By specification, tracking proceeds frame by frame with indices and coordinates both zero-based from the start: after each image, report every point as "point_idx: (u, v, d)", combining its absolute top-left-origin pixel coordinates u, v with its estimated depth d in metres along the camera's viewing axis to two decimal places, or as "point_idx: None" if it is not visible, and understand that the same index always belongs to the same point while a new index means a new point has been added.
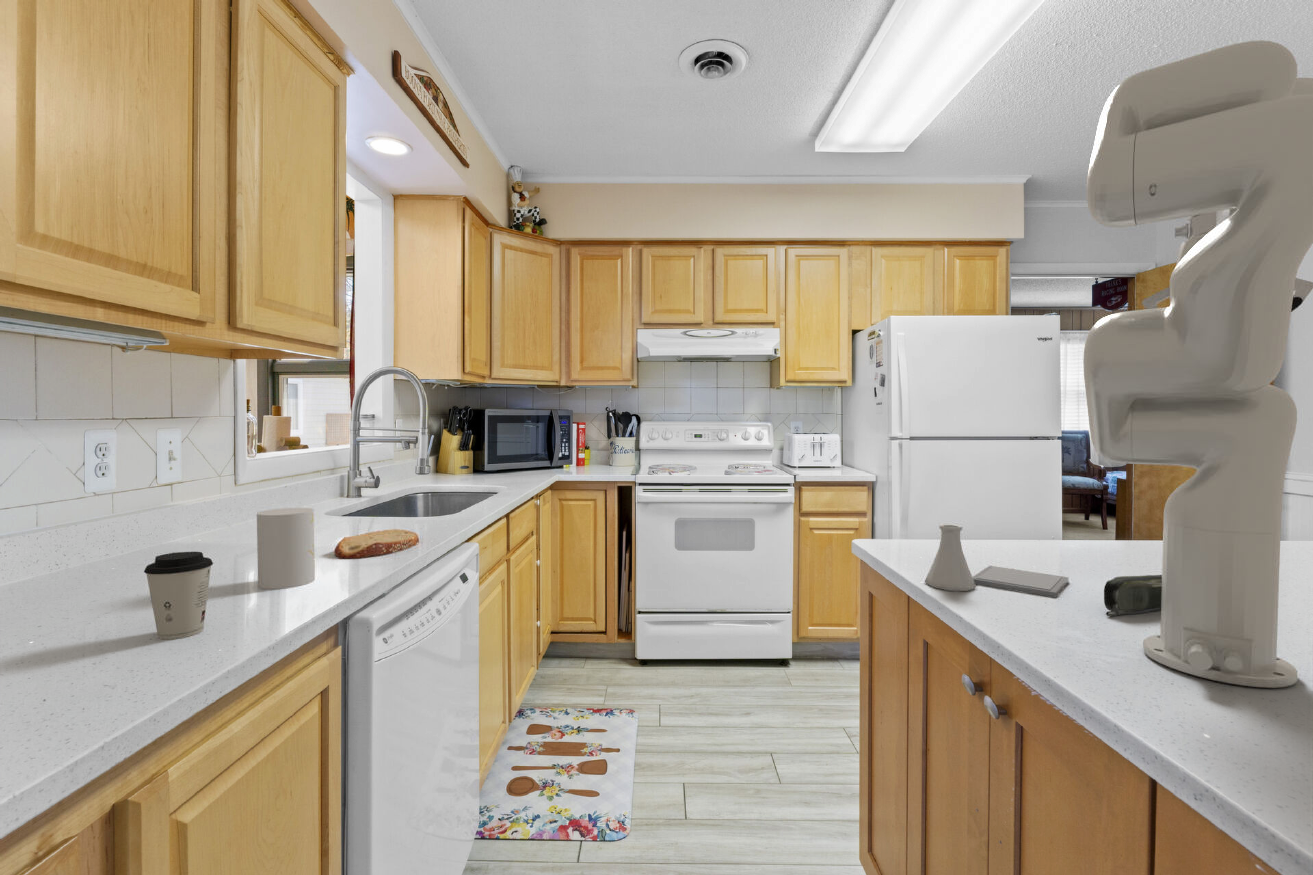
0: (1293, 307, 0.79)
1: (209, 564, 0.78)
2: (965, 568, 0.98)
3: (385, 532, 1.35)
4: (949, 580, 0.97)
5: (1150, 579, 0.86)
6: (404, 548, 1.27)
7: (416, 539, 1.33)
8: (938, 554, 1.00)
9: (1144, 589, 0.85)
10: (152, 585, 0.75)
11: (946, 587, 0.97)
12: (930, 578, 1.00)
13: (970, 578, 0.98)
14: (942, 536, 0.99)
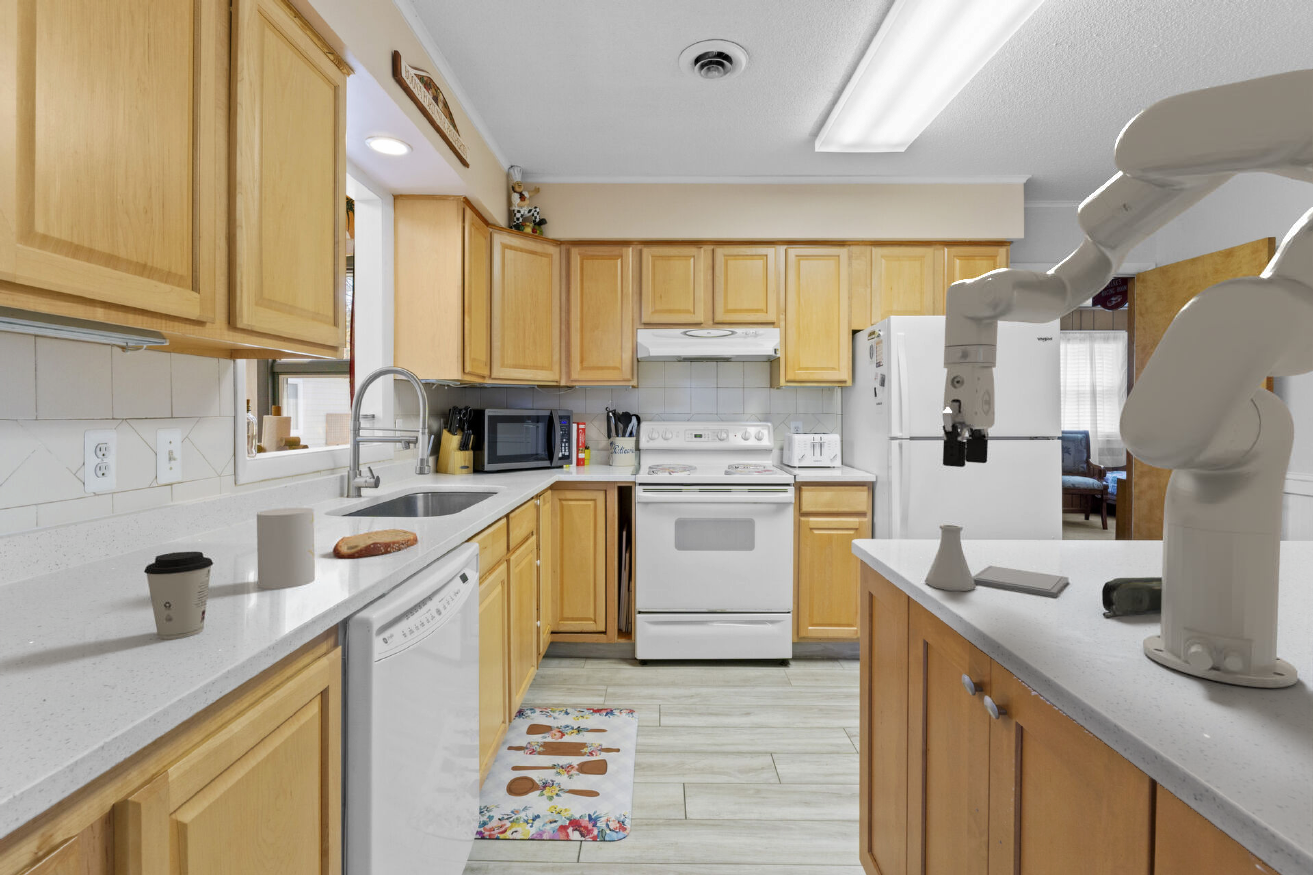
0: None
1: (209, 564, 0.78)
2: (965, 568, 0.98)
3: (384, 532, 1.35)
4: (949, 580, 0.97)
5: (1151, 581, 0.86)
6: (402, 548, 1.27)
7: (415, 539, 1.33)
8: (938, 554, 1.00)
9: (1144, 590, 0.84)
10: (152, 585, 0.75)
11: (946, 587, 0.97)
12: (930, 578, 1.00)
13: (970, 578, 0.98)
14: (942, 536, 0.99)
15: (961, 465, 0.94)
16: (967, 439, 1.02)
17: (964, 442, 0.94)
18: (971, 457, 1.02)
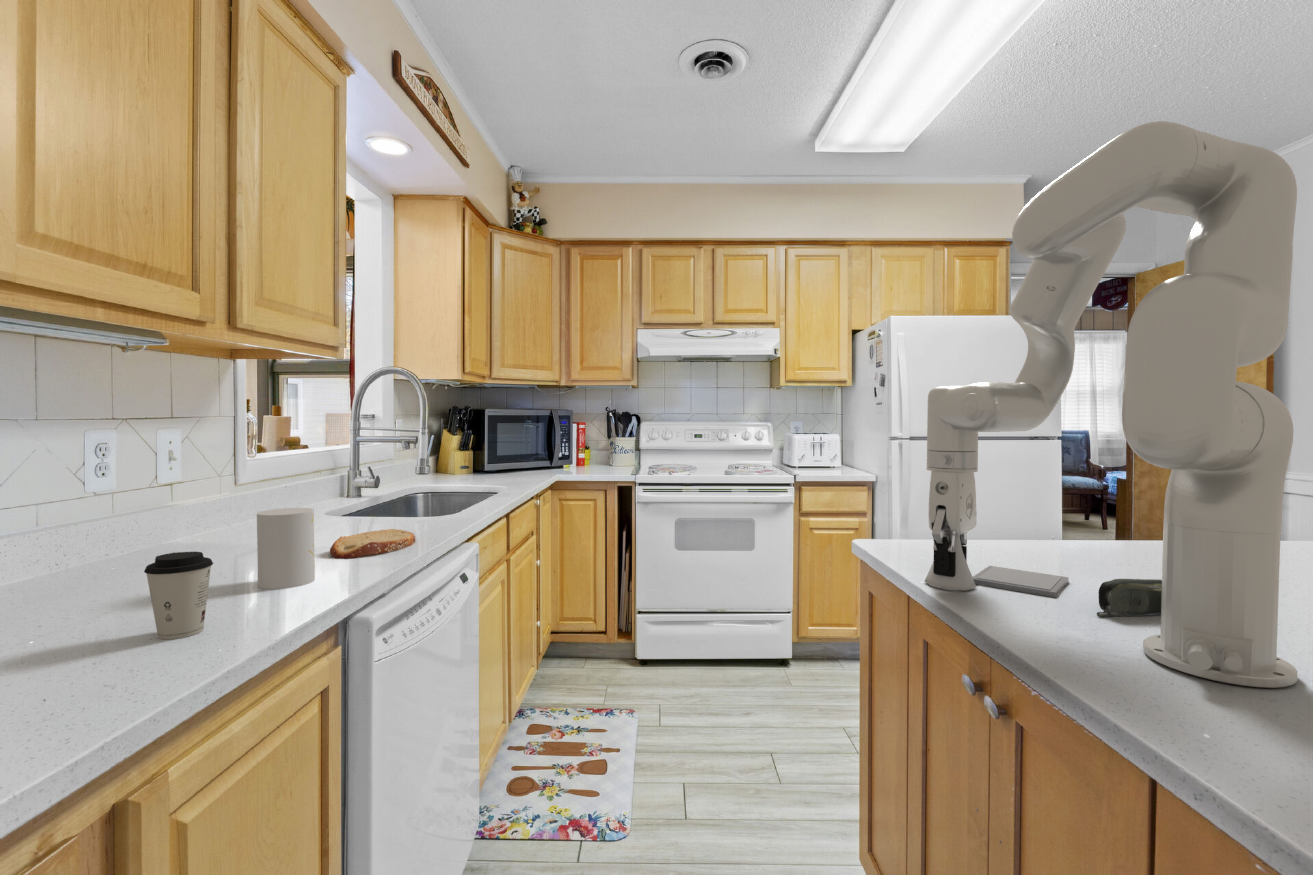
0: None
1: (209, 564, 0.78)
2: (965, 568, 0.98)
3: (382, 532, 1.35)
4: (949, 579, 0.97)
5: (1153, 583, 0.85)
6: (400, 548, 1.27)
7: (412, 539, 1.33)
8: None
9: (1143, 592, 0.84)
10: (152, 585, 0.75)
11: (946, 587, 0.97)
12: (930, 577, 1.00)
13: (970, 578, 0.98)
14: None
15: (951, 575, 0.96)
16: None
17: (954, 553, 0.96)
18: None
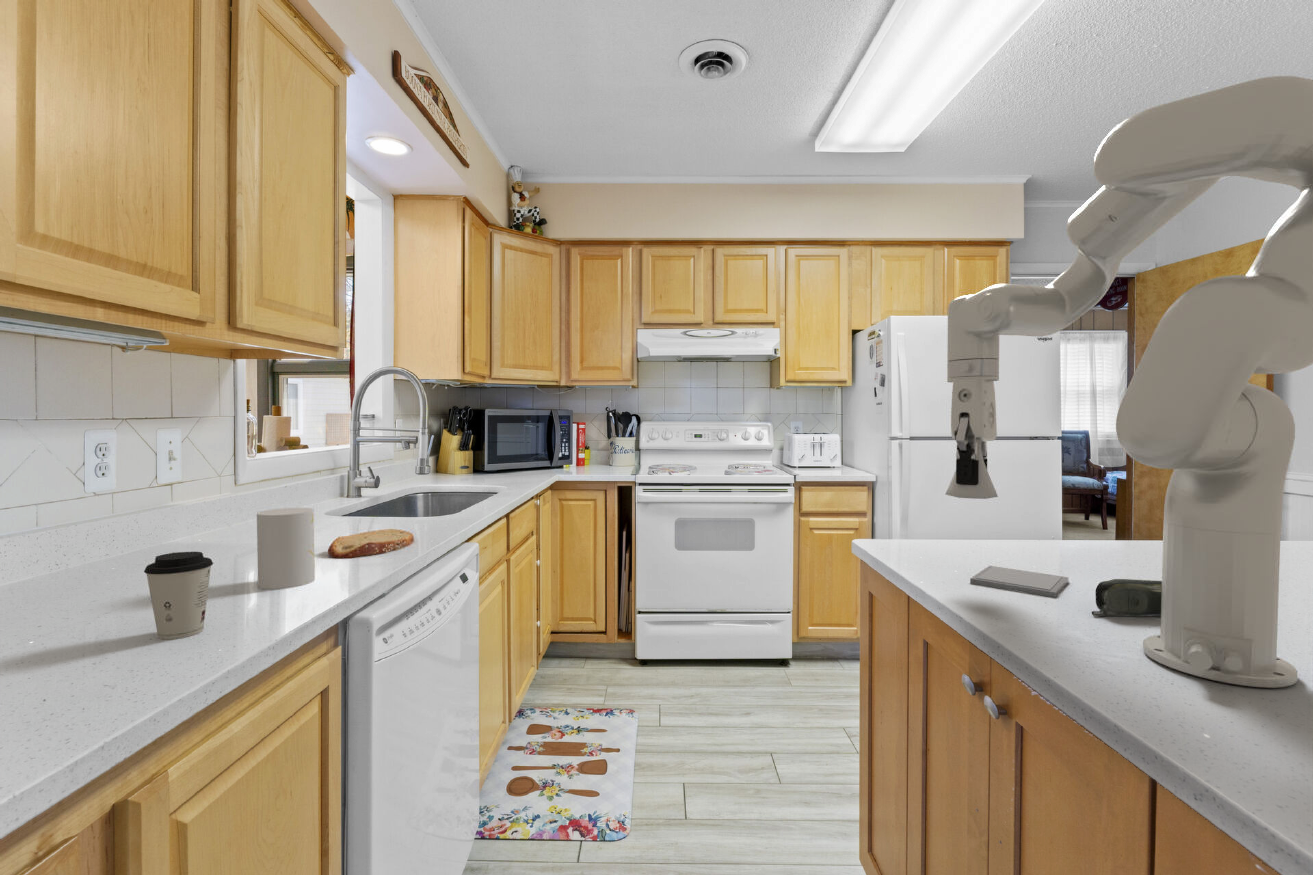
0: None
1: (209, 564, 0.78)
2: (987, 477, 0.98)
3: (380, 532, 1.35)
4: (971, 488, 0.96)
5: (1153, 584, 0.84)
6: (398, 548, 1.27)
7: (411, 539, 1.33)
8: None
9: (1141, 592, 0.83)
10: (152, 585, 0.75)
11: (969, 495, 0.96)
12: (952, 489, 0.99)
13: (992, 487, 0.97)
14: None
15: (975, 483, 0.96)
16: None
17: (977, 461, 0.96)
18: None
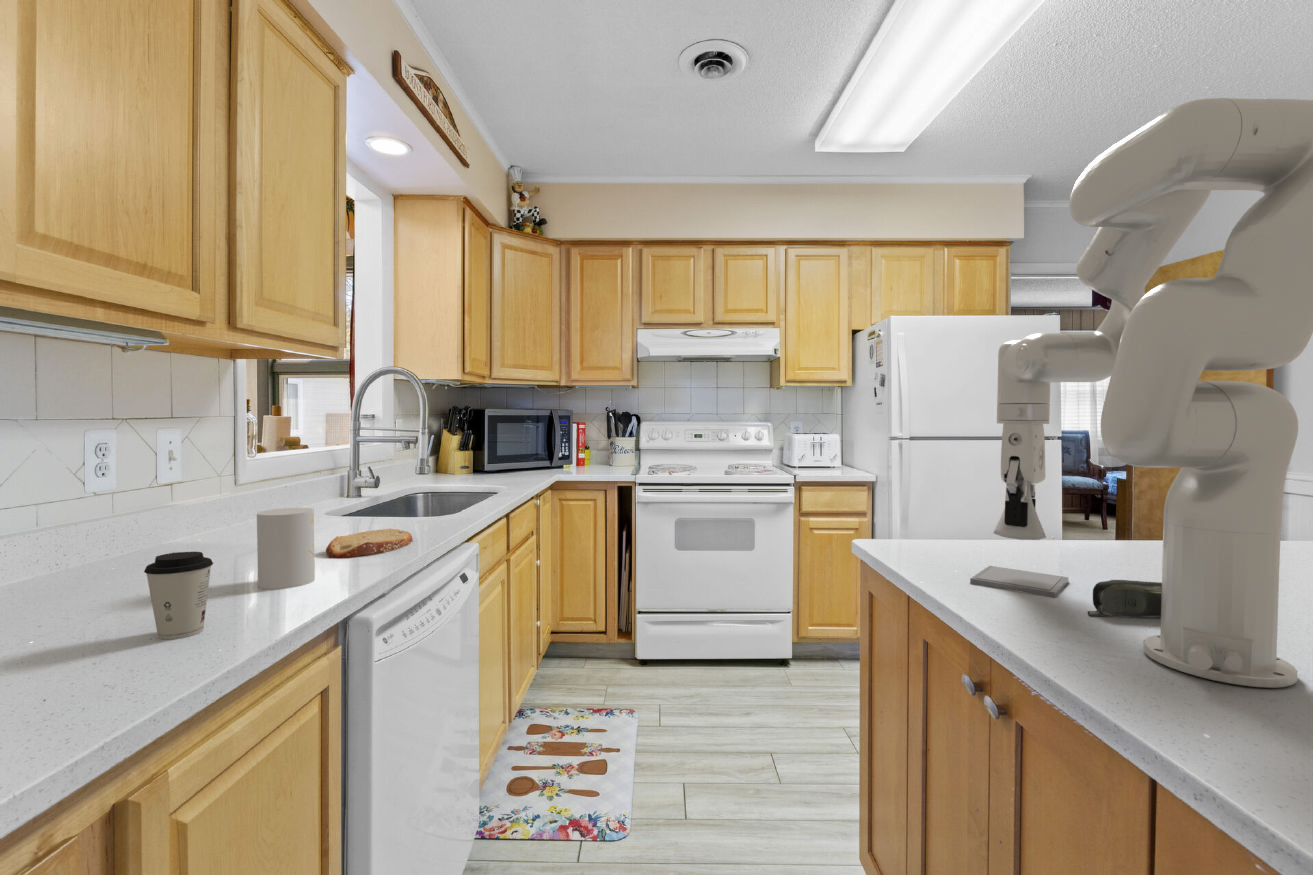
0: None
1: (209, 564, 0.78)
2: (1036, 518, 1.00)
3: (379, 532, 1.35)
4: (1020, 529, 0.98)
5: (1153, 585, 0.83)
6: (396, 548, 1.27)
7: (409, 539, 1.33)
8: None
9: (1139, 593, 0.83)
10: (152, 585, 0.75)
11: (1017, 536, 0.99)
12: (1000, 529, 1.02)
13: (1040, 528, 0.99)
14: None
15: (1024, 525, 0.98)
16: None
17: (1026, 503, 0.98)
18: None
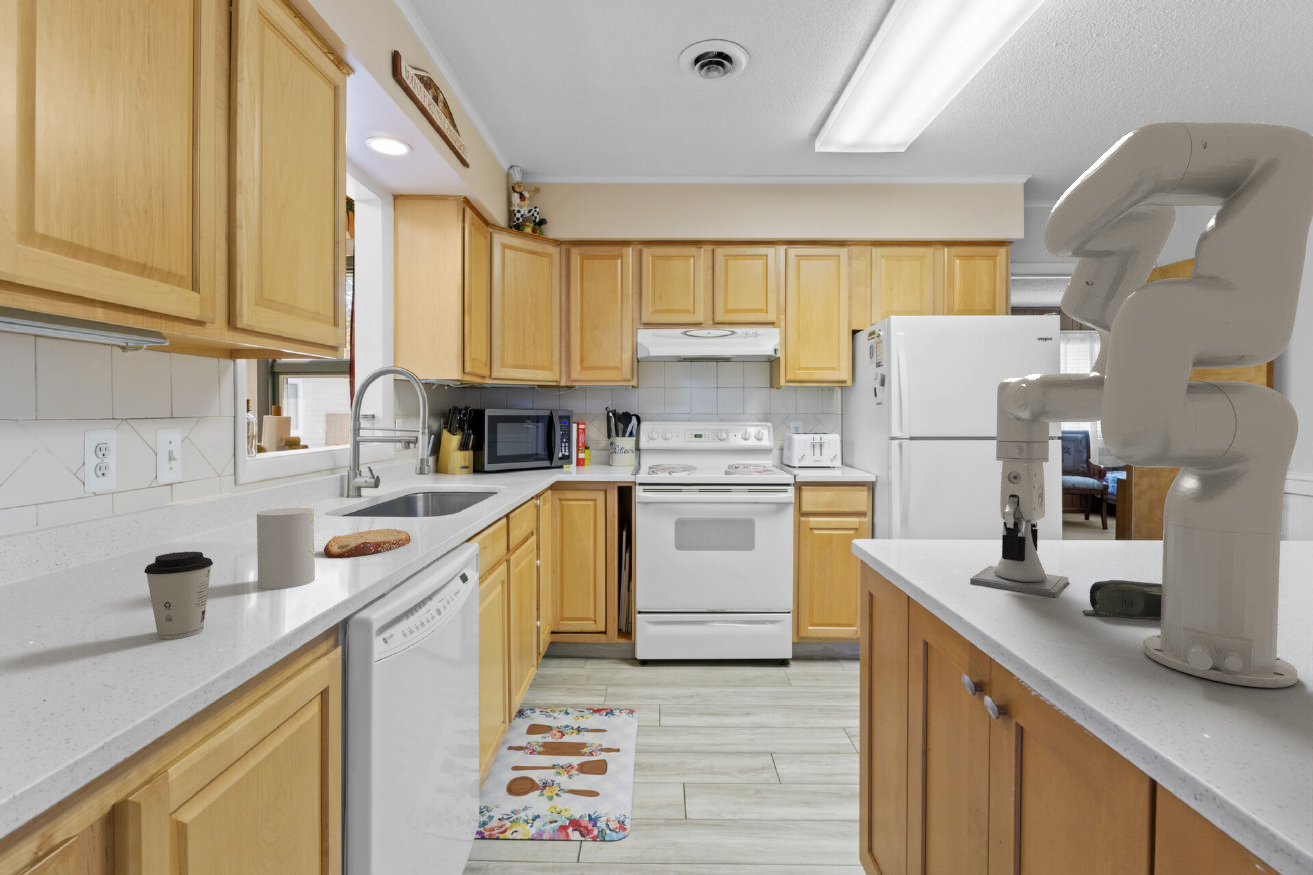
0: None
1: (209, 564, 0.78)
2: (1036, 559, 1.00)
3: (377, 531, 1.35)
4: (1021, 571, 0.98)
5: (1151, 586, 0.83)
6: (393, 547, 1.27)
7: (407, 539, 1.34)
8: None
9: (1136, 594, 0.83)
10: (152, 585, 0.75)
11: (1018, 578, 0.98)
12: (1001, 569, 1.01)
13: (1041, 569, 0.99)
14: None
15: (1021, 560, 0.97)
16: None
17: (1024, 538, 0.97)
18: None
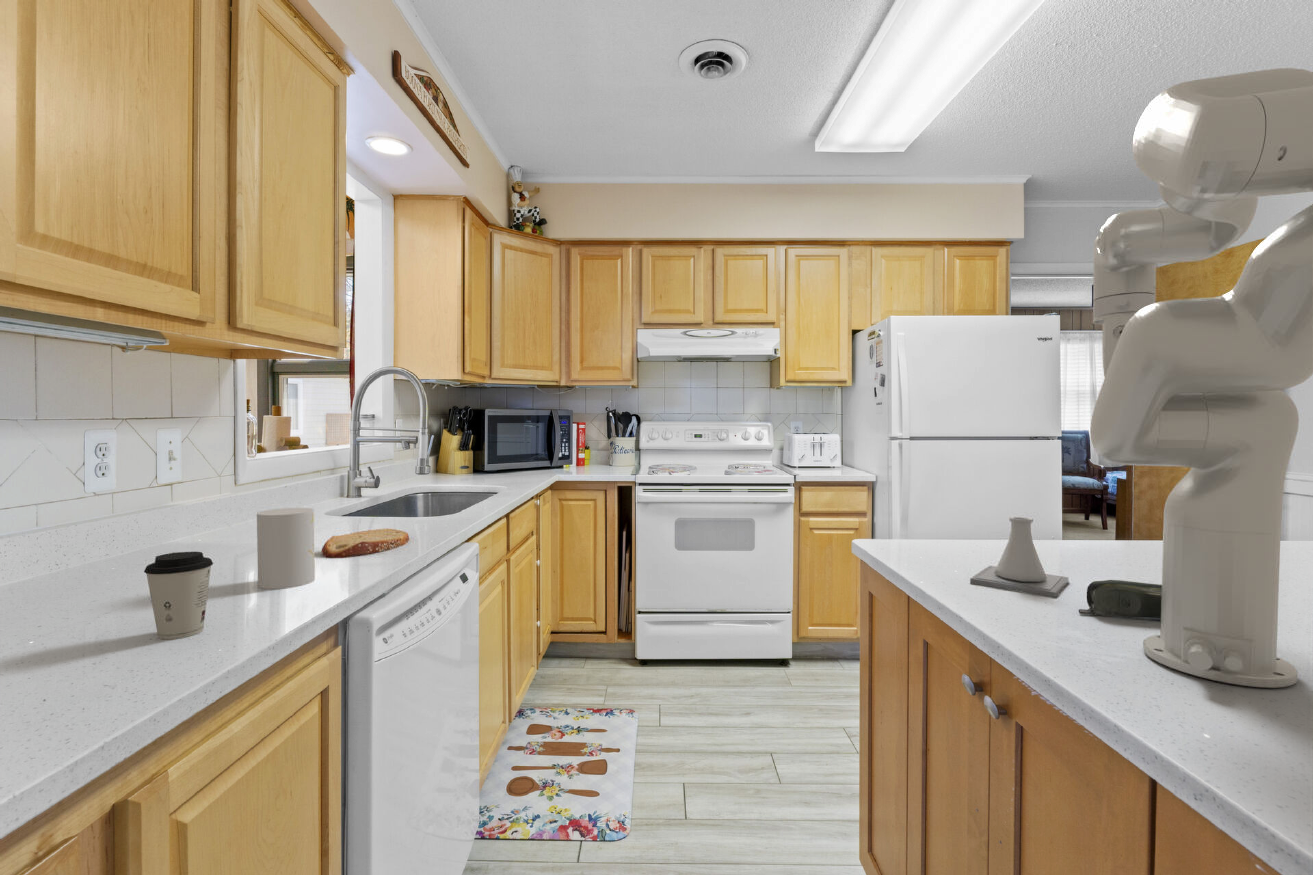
0: None
1: (209, 564, 0.78)
2: (1036, 559, 1.00)
3: (376, 531, 1.36)
4: (1021, 571, 0.98)
5: (1150, 587, 0.83)
6: (391, 547, 1.27)
7: (405, 538, 1.34)
8: (1008, 546, 1.01)
9: (1133, 594, 0.83)
10: (152, 585, 0.75)
11: (1018, 578, 0.98)
12: (1001, 569, 1.01)
13: (1041, 569, 0.99)
14: (1012, 528, 1.01)
15: None
16: None
17: None
18: None
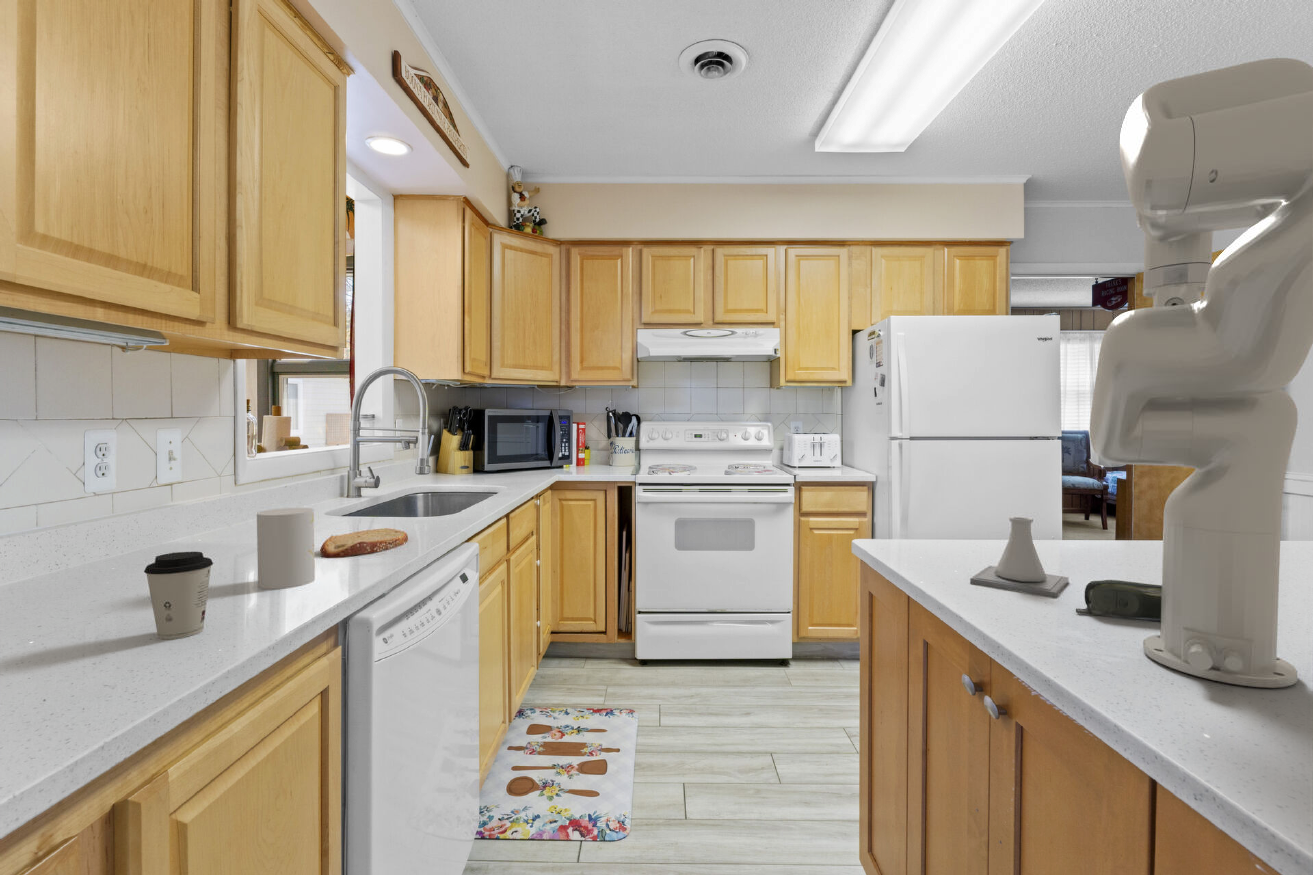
0: None
1: (209, 564, 0.78)
2: (1036, 559, 1.00)
3: (375, 531, 1.36)
4: (1021, 571, 0.98)
5: (1148, 587, 0.82)
6: (390, 547, 1.27)
7: (404, 538, 1.34)
8: (1008, 546, 1.01)
9: (1131, 594, 0.83)
10: (152, 585, 0.75)
11: (1018, 578, 0.98)
12: (1001, 569, 1.01)
13: (1041, 569, 0.99)
14: (1012, 528, 1.01)
15: None
16: None
17: None
18: None
